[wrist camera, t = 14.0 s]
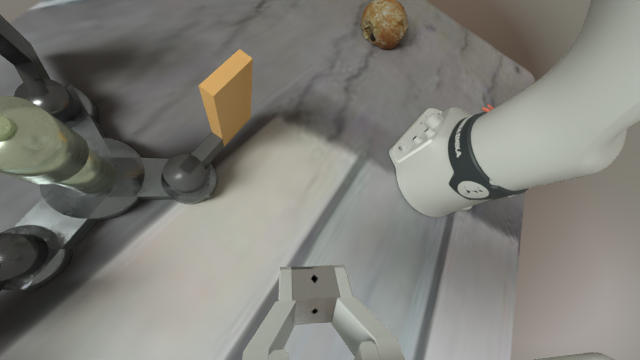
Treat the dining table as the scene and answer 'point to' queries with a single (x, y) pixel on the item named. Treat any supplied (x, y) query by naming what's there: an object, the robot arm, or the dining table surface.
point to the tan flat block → (215, 121)
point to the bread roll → (384, 23)
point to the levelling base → (88, 210)
